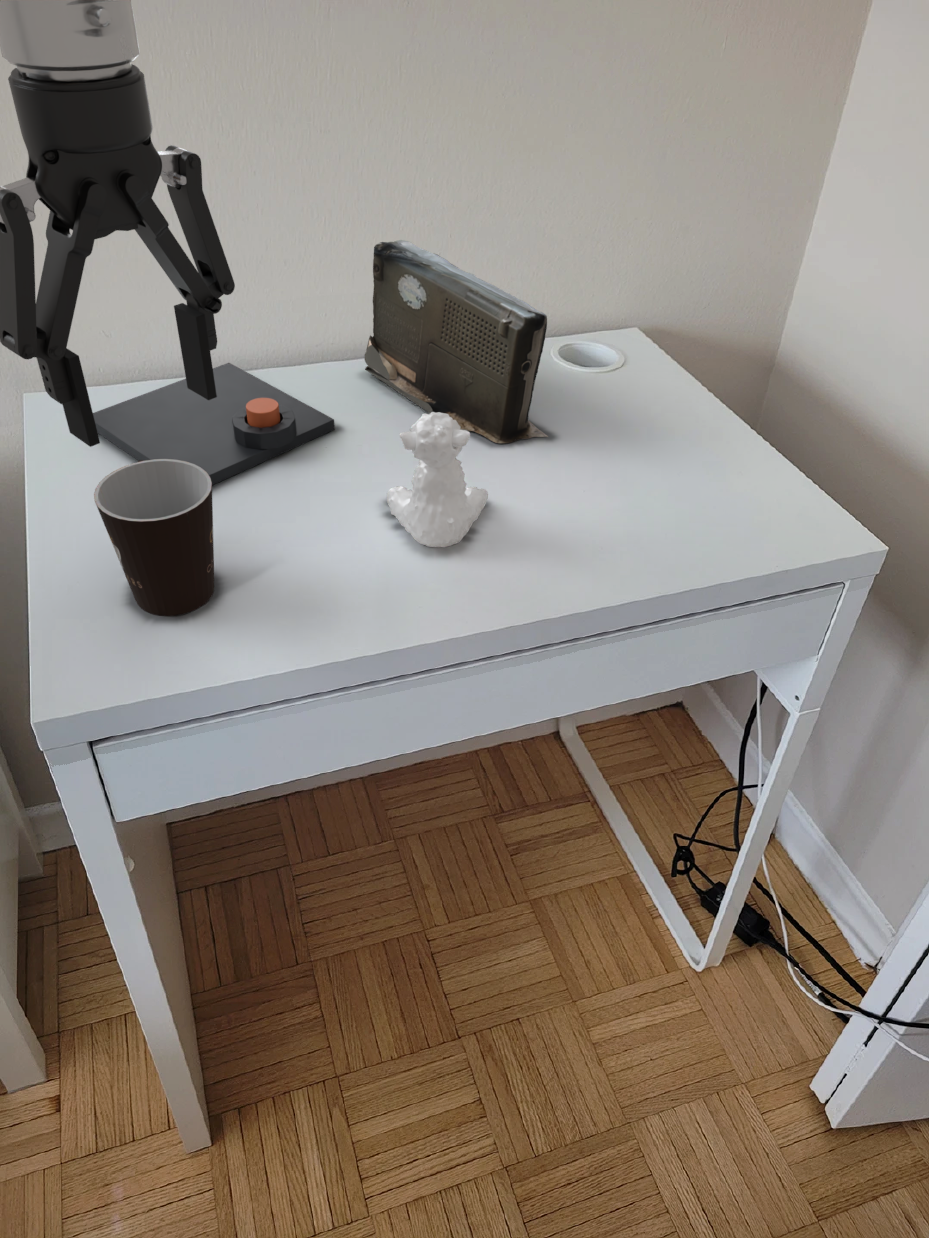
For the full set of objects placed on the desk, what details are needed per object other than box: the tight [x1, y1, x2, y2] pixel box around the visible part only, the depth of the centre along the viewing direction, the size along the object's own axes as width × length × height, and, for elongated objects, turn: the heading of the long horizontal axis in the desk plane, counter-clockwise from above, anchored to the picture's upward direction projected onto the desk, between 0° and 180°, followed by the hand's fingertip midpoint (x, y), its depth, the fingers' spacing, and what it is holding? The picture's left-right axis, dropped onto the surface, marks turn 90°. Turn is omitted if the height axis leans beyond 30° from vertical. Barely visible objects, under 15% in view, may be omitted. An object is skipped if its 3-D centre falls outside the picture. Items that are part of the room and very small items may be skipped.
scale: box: [93, 362, 336, 486], centre depth 98 cm, size 18×19×3 cm
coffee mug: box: [93, 459, 215, 617], centre depth 76 cm, size 12×9×10 cm
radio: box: [364, 239, 549, 444], centre depth 100 cm, size 23×9×15 cm, turn 37°
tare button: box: [246, 398, 280, 428], centre depth 94 cm, size 3×3×2 cm
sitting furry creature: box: [386, 412, 489, 548], centre depth 83 cm, size 10×9×12 cm
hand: (145, 414), depth 70 cm, fingers open, 9 cm apart
